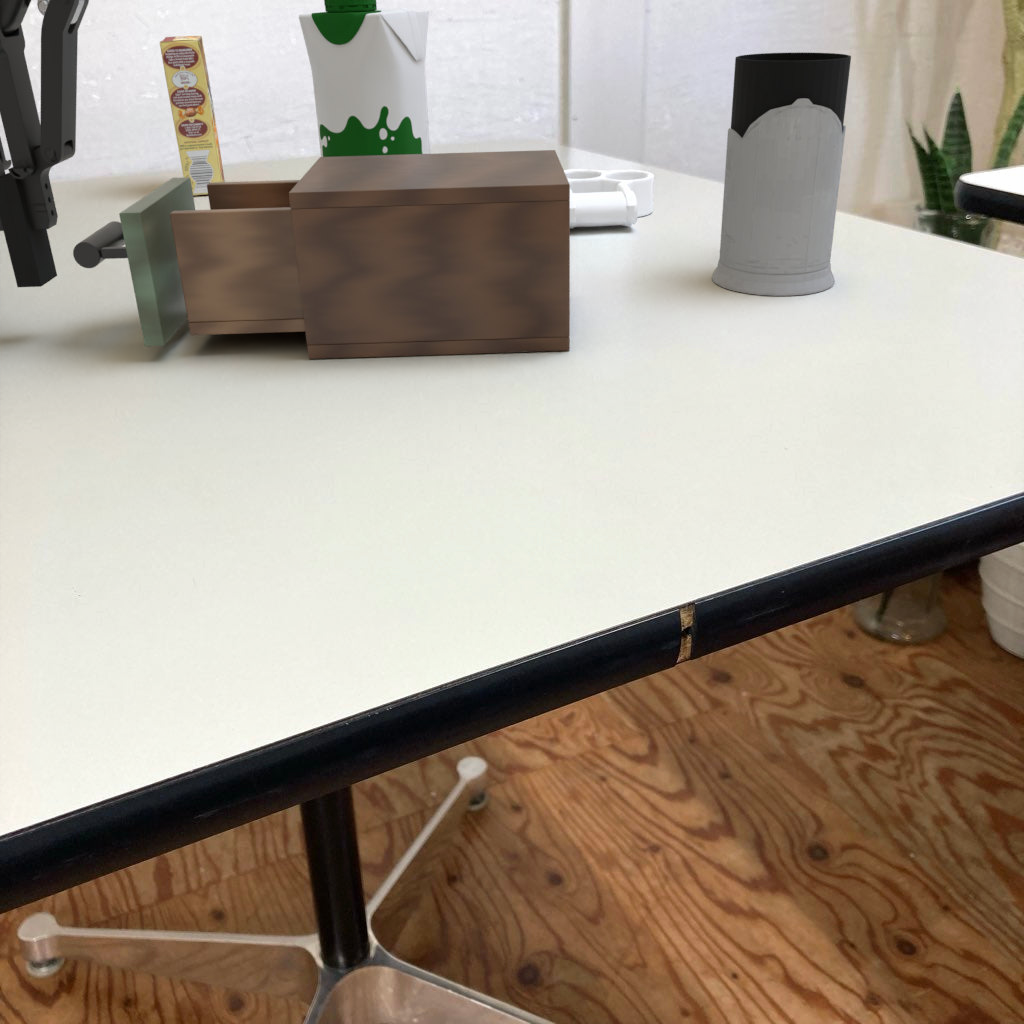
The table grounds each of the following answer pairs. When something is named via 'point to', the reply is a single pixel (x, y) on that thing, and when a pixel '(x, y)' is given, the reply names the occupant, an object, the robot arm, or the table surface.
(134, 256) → the drawer
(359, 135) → the milk carton
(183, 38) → the candy box
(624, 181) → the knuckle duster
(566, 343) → the cabinet
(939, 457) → the table surface
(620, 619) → the table surface
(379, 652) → the table surface
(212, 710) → the table surface
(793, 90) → the glass holder
